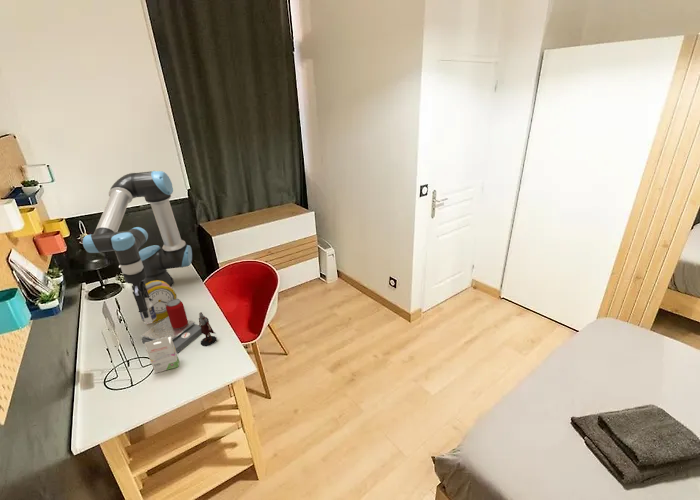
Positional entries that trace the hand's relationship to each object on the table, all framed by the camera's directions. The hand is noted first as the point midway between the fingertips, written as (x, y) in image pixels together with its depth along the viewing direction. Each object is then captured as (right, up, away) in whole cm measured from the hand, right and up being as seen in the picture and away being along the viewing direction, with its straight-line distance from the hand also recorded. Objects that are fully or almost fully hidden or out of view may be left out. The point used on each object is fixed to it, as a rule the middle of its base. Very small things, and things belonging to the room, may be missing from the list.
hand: (149, 318), depth 151 cm
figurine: (+24, -10, +2) cm, 27 cm away
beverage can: (+10, -4, +7) cm, 13 cm away
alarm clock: (-6, -3, +22) cm, 23 cm away
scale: (+8, -9, +6) cm, 13 cm away
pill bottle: (0, 0, 0) cm, 1 cm away
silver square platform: (+6, -7, +6) cm, 10 cm away
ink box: (+13, -17, -11) cm, 24 cm away
